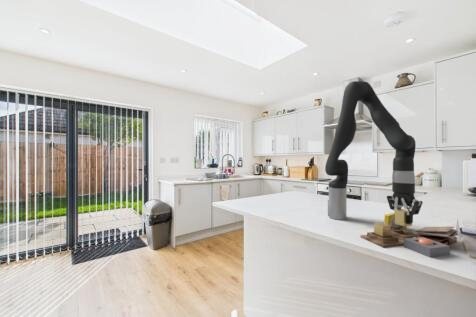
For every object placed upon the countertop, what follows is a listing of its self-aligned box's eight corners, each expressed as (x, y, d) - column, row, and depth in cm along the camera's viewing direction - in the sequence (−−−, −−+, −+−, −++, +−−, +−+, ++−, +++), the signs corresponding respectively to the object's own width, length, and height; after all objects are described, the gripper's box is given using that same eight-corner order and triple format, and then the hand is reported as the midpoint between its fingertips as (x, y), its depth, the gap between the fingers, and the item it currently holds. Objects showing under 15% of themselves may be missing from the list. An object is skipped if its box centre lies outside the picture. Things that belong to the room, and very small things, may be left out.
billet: (395, 223, 90) (394, 209, 90) (402, 223, 91) (402, 209, 91) (404, 226, 87) (404, 211, 87) (411, 225, 87) (411, 211, 87)
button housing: (403, 246, 81) (403, 238, 81) (422, 244, 83) (422, 236, 83) (429, 257, 72) (429, 248, 72) (449, 254, 74) (449, 245, 74)
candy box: (388, 234, 95) (388, 215, 95) (383, 232, 97) (383, 214, 97) (407, 228, 102) (407, 211, 102) (402, 227, 104) (402, 210, 104)
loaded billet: (374, 237, 88) (374, 223, 88) (382, 236, 89) (381, 222, 89) (382, 241, 84) (382, 226, 84) (390, 240, 85) (390, 225, 85)
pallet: (360, 237, 91) (360, 231, 91) (401, 233, 96) (401, 227, 96) (383, 247, 80) (383, 241, 80) (428, 242, 85) (428, 236, 85)
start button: (415, 247, 79) (415, 238, 79) (424, 246, 80) (424, 237, 80) (427, 252, 75) (427, 242, 75) (436, 251, 76) (436, 241, 76)
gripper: (381, 180, 95) (381, 218, 95) (413, 183, 81) (413, 228, 81) (394, 179, 97) (394, 217, 97) (428, 183, 83) (429, 226, 83)
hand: (403, 222), depth 89 cm, fingers closed on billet, 4 cm apart
